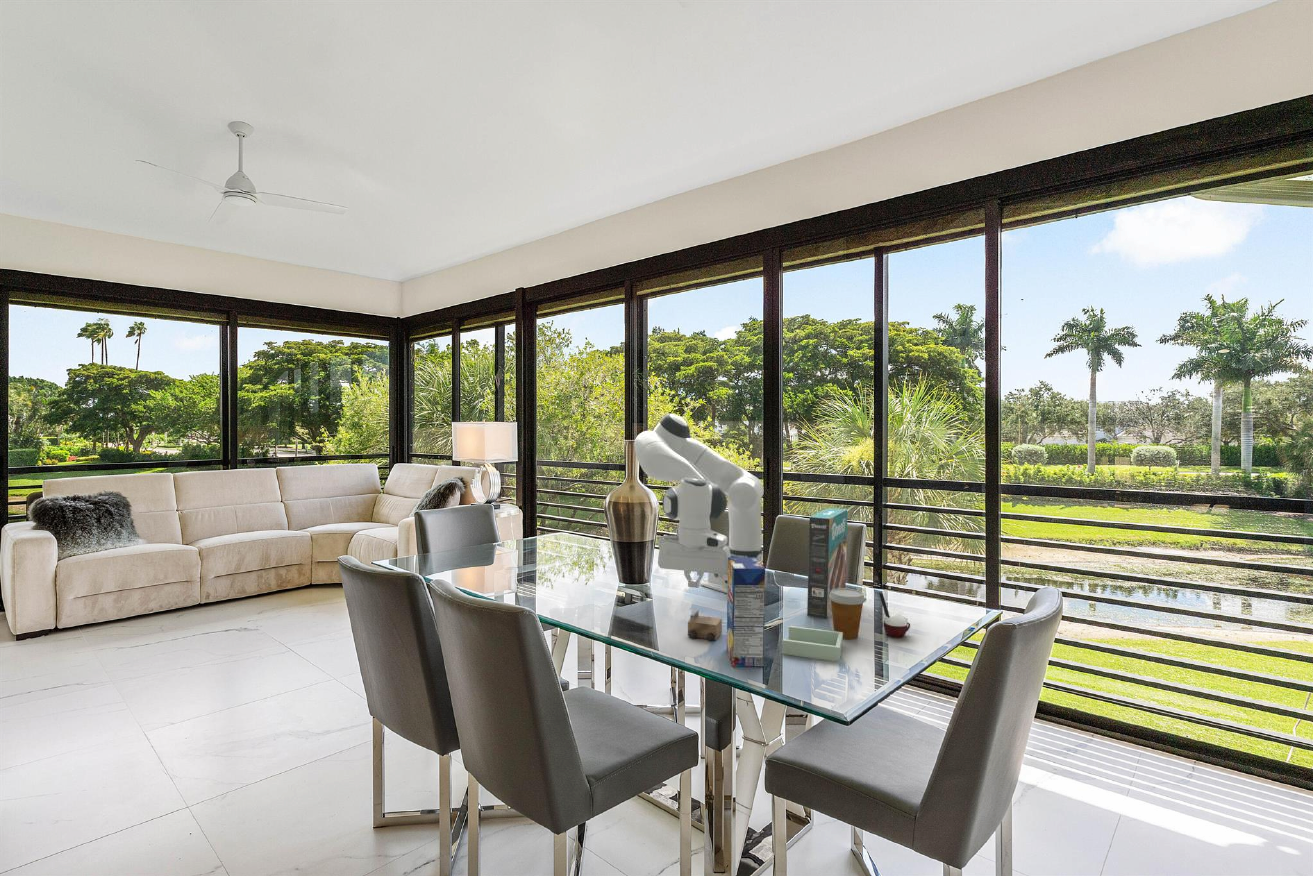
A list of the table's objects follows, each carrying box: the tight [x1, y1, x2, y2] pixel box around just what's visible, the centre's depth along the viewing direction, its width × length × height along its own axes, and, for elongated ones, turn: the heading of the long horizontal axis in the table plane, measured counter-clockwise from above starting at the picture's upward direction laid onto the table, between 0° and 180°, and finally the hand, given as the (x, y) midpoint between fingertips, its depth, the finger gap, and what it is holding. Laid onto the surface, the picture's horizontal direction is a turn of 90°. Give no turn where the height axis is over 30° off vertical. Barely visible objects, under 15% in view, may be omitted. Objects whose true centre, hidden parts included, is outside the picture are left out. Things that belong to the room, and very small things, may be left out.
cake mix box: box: [806, 507, 849, 620], centre depth 204 cm, size 22×6×30 cm, turn 150°
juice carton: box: [726, 557, 766, 669], centre depth 162 cm, size 12×8×24 cm, turn 0°
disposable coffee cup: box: [829, 587, 866, 640], centre depth 180 cm, size 10×10×12 cm
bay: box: [781, 625, 844, 663], centre depth 169 cm, size 14×12×4 cm
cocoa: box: [878, 592, 911, 639], centre depth 180 cm, size 10×6×12 cm, turn 81°
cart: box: [687, 609, 723, 642], centre depth 179 cm, size 8×8×6 cm
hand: (693, 587), depth 179 cm, fingers closed
